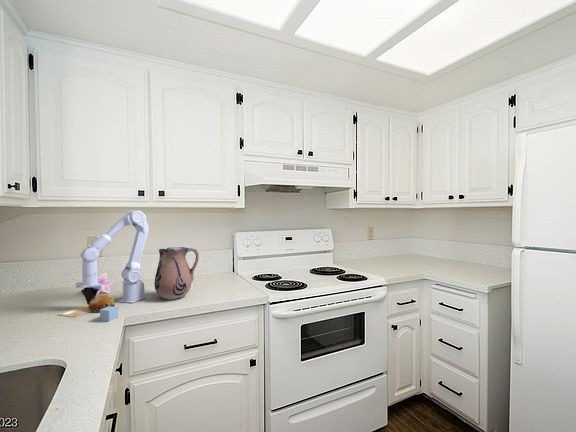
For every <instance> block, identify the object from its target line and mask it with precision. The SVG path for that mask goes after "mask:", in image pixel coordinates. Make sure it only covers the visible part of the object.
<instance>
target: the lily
mask: <svg viewBox="0 0 576 432" xmlns="http://www.w3.org/2000/svg"><path fill="white" fill-rule="evenodd" d="M107 276H108V275H107V272H104V273H102V274H101V275H100V276H99V277H98V283H100V284H105V289H102V290H100V289H99V291H98V292H97V294H96V296H98V294H99V295H100V292H104V293H105V294H111V289H110V285H112V284H114V281H113V280H112V281H111V280H108V277H107Z"/></svg>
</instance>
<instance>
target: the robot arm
mask: <svg viewBox="0 0 576 432" xmlns="http://www.w3.org/2000/svg"><path fill="white" fill-rule="evenodd" d="M131 225H132V226H133V227H134V229H135V230H136V233H135V237H134V241H133V244H132V248H131V252H130V256H129V258H128V262H127V263H126V264H125V267H124V268H123V270H122V271H121V277H122V279H123V281H122V299H119V300H118V302H119V303H129V304H132V303H135V302H138V301H141V300H143V299H145V298H146V297H147V296H145V283H144V282H143V280H140V279H141V277H142V276H141V269H142V268H141V261H142V259H143V257H142V256H143V254H144V249H145V246H146V241H147V238H148V235H149V231H150V227H149V224H148V220H147V216H146V215H145V213H144V212H143V211H141V210H132V209H131V210H128V211H127V212H126V213H125V214H123V215H122V216H121V217H120V218H119V219H118V220H117V221H116V222H115V223H114V224H113V225H112V226H111V227H110V228H109V230H108V231H107V232H105V233H103V234H99V235H96V236H95V239H94V240H93V241H92V242H91V243H90V244H89V243H88V244H87V246H86V247H85V248H82V250H81V253H80V258H82V265H81V266H82V267H81V268H82V269H81V270H82V271H81V272H82V273H81V274H82V282H76V283H75V288H78V289H79V288H82V289H81V290H80V291H81V294H82V295H83V296H84V299H85V301H86V304H88V305H89V303H90V301H91V300H92V299H93V298H94V297H96V296H97V295H98V294H97V292H98V291H99V289H100V290H102V289H105V284H100V283H98V278H99V277H98V259H99V257H100V254H101V253H102V252H103V251H104V250H105V249H106V248H107V247H108V246H109V245H110V244H111V243H112V238H113V237H114V236H116V235H117V234H118V233H119V232H120V231H121V230H122V229H124V228H125V227H127V226H128V227H129V226H131ZM96 294H97V295H96Z"/></svg>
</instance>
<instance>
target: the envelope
mask: <svg viewBox="0 0 576 432" xmlns="http://www.w3.org/2000/svg"><path fill="white" fill-rule="evenodd" d="M88 306H89V305H88V304H87V303H86V304H83V305H80V306H77V307H74V308H70V309H68V310H66V311H63V312H61V313H57V314H56V316H62V317H69V318H70V317H71V318H77V317H81V316H83V315H85V314H88V313H92V311H90V310H89V307H88Z"/></svg>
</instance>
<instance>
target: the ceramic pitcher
mask: <svg viewBox="0 0 576 432" xmlns="http://www.w3.org/2000/svg"><path fill="white" fill-rule="evenodd" d="M158 252H159V260H158V265H157V268H156V272H155V276H154V284H153V285H154V289H155V292H156V293H157V295H158V296H159V297H161V299H164V300H168V301H169V300H170V301H171V300H172V301H173V300H177V299H180V298H184V297H185V295H187V294H188V293H189V292H190V290H191V287H192V283H193V282H194V278H195V277H194V272H195V270H196V267H197V265H198V262H199V259H200V258H199V256H200V255H199V254H200V253H199V252H198V250H197V249H196V248H194V247H184V246H171V247H166V248H160V249H159V248H158ZM189 252H193V253H194V254H195V260H194V263H193V265H192V267H191V268H190V266H189V263H188V262H187V259H186V256H187V254H188V253H189Z"/></svg>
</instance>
